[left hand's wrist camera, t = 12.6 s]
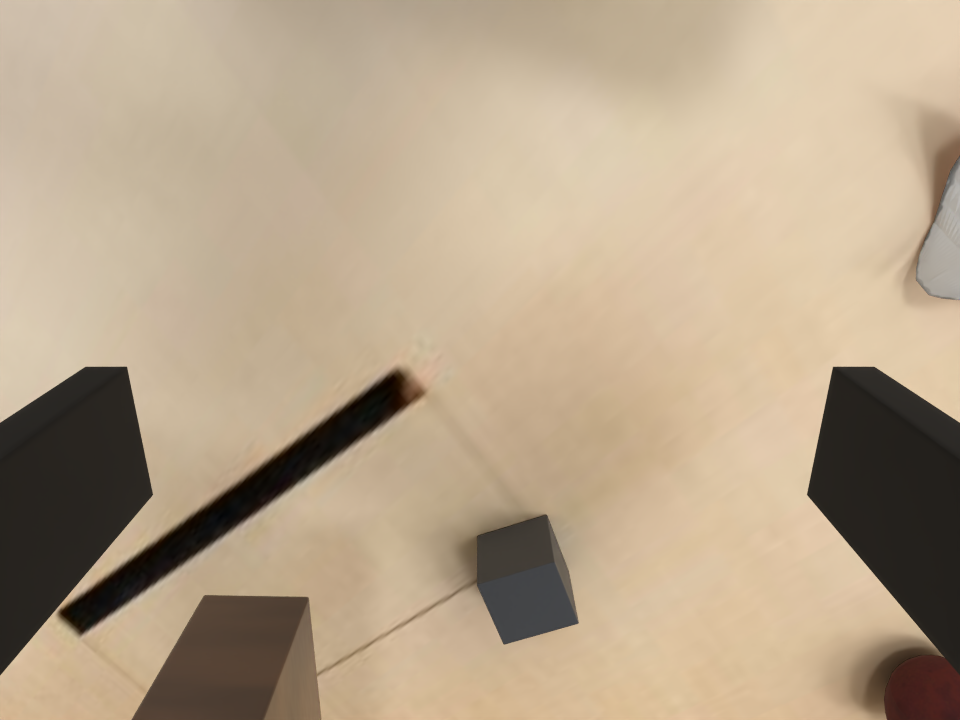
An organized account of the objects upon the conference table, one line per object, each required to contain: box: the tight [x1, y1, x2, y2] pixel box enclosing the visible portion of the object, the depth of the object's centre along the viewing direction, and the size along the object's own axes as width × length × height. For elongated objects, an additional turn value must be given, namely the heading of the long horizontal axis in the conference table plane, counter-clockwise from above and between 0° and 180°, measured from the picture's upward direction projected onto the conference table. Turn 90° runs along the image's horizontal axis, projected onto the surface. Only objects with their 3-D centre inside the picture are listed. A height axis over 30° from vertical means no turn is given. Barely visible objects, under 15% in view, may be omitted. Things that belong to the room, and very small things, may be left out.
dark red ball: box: [884, 655, 960, 720], centre depth 46 cm, size 7×8×7 cm
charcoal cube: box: [477, 515, 579, 644], centre depth 43 cm, size 5×5×5 cm
